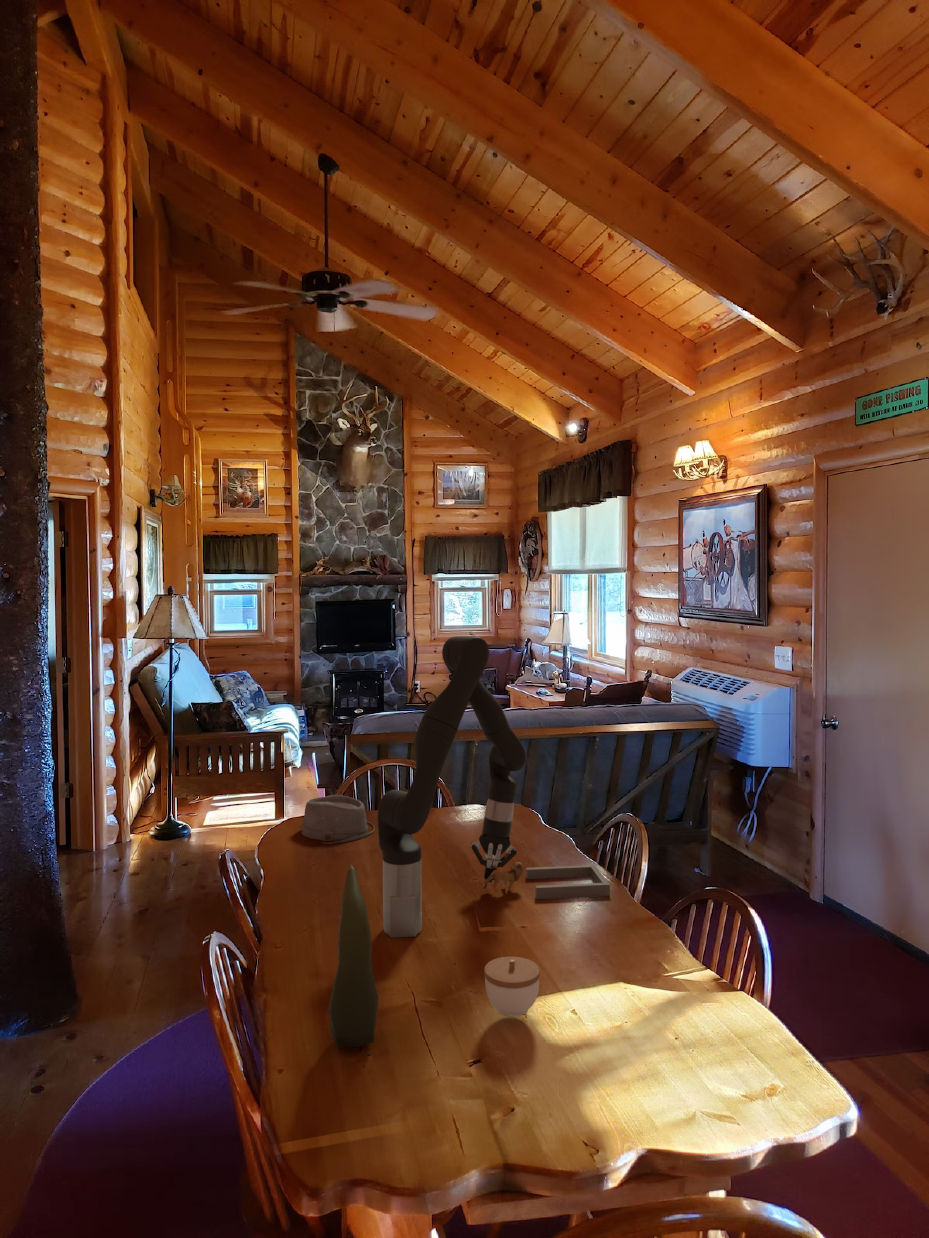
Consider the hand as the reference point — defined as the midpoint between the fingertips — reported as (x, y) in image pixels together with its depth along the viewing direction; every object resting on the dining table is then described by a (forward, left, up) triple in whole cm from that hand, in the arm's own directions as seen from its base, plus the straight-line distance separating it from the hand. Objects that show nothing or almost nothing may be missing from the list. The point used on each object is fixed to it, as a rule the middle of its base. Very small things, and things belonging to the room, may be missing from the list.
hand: (488, 881), depth 215 cm
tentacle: (-67, +34, -3) cm, 75 cm away
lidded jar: (-60, +3, -3) cm, 60 cm away
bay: (0, -21, -3) cm, 21 cm away
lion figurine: (-1, -3, -2) cm, 3 cm away
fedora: (+53, +44, -3) cm, 69 cm away
